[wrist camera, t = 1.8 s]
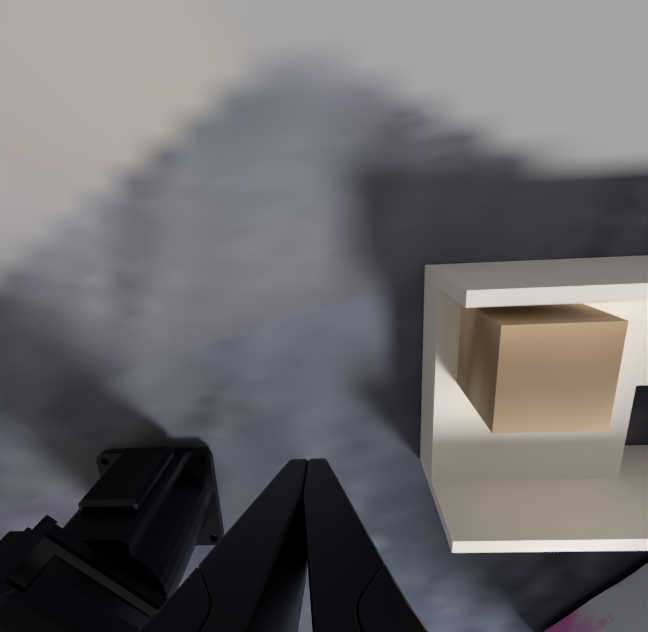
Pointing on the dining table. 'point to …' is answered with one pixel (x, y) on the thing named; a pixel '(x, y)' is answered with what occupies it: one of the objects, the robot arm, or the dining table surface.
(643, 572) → the gum box
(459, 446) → the channel
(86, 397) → the dining table surface
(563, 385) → the oak block
